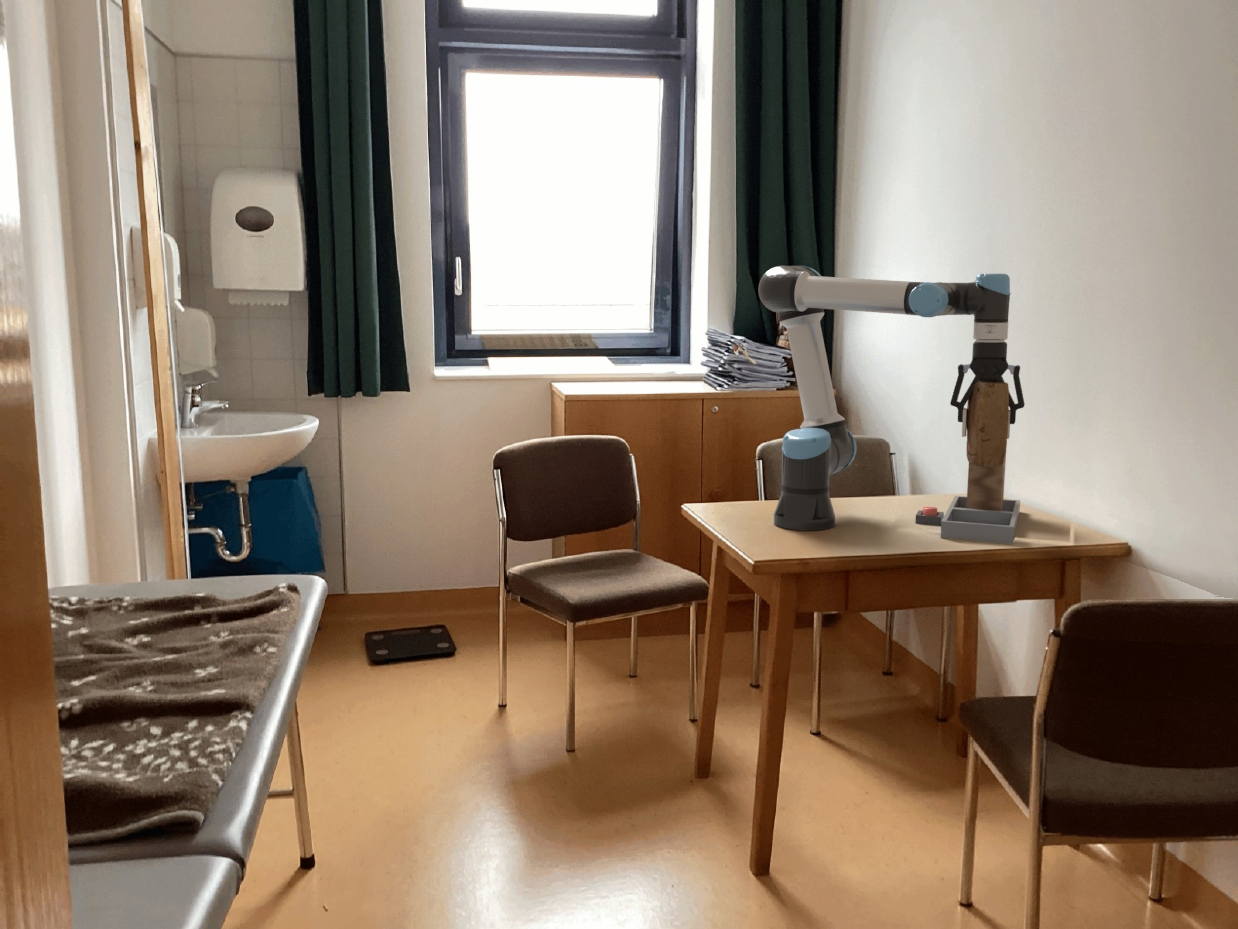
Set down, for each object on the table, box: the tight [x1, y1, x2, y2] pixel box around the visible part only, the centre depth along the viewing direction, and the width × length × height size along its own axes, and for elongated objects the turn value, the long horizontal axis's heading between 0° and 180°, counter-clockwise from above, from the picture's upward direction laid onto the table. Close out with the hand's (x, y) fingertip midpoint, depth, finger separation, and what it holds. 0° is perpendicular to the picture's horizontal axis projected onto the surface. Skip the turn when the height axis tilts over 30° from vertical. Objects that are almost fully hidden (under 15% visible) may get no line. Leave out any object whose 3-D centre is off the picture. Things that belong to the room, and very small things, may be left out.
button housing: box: [915, 509, 945, 526], centre depth 259 cm, size 6×6×3 cm
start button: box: [922, 506, 938, 516], centre depth 259 cm, size 3×3×4 cm
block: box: [966, 380, 1010, 467], centre depth 246 cm, size 11×8×20 cm
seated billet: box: [966, 453, 1007, 511], centre depth 264 cm, size 8×11×20 cm
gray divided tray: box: [940, 495, 1021, 545], centre depth 258 cm, size 16×32×4 cm, turn 157°
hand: (985, 436), depth 247 cm, fingers closed on block, 9 cm apart
